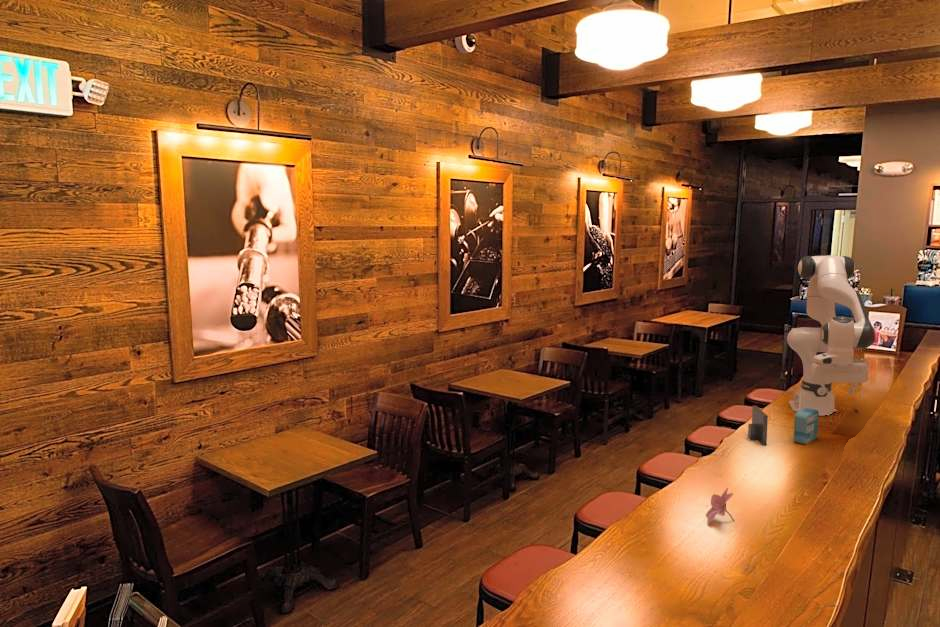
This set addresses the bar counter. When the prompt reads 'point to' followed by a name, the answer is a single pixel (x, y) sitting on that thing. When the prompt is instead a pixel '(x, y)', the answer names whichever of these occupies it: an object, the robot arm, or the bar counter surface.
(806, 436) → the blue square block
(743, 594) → the bar counter surface
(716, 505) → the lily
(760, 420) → the bookend
